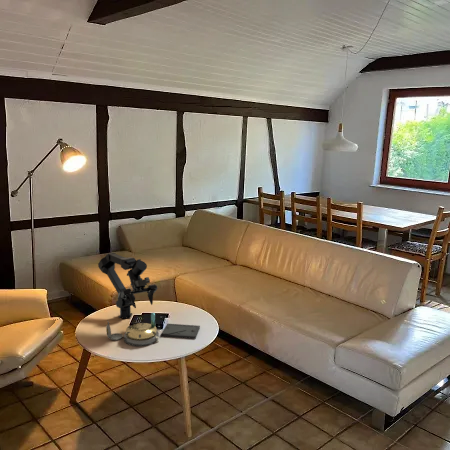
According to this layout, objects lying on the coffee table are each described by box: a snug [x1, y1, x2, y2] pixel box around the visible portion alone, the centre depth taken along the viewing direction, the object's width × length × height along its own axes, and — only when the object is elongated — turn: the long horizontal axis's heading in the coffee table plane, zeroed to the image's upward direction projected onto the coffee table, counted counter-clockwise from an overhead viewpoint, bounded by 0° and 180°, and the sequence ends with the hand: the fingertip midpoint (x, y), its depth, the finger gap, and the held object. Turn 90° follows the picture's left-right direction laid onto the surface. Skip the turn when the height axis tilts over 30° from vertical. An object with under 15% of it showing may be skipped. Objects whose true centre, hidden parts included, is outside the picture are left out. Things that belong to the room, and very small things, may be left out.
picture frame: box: [160, 323, 201, 340], centre depth 234 cm, size 13×2×18 cm
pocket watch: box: [105, 320, 124, 341], centre depth 225 cm, size 8×8×10 cm
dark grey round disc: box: [123, 330, 160, 347], centre depth 226 cm, size 17×18×3 cm
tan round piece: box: [125, 312, 158, 341], centre depth 225 cm, size 15×15×10 cm
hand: (143, 306), depth 233 cm, fingers open, 9 cm apart
